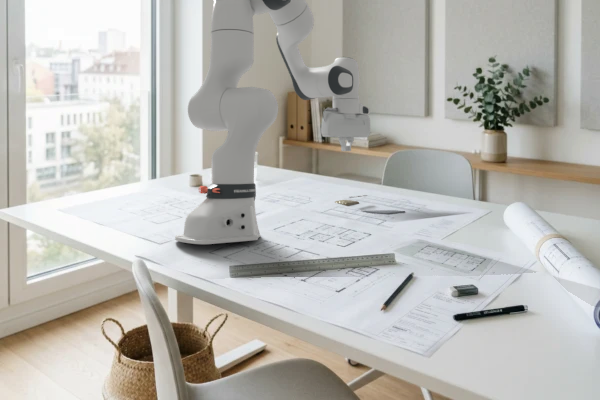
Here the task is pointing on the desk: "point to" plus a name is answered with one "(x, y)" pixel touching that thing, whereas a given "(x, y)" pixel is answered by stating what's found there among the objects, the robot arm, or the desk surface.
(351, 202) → the cuneiform tablet
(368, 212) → the felt pad
